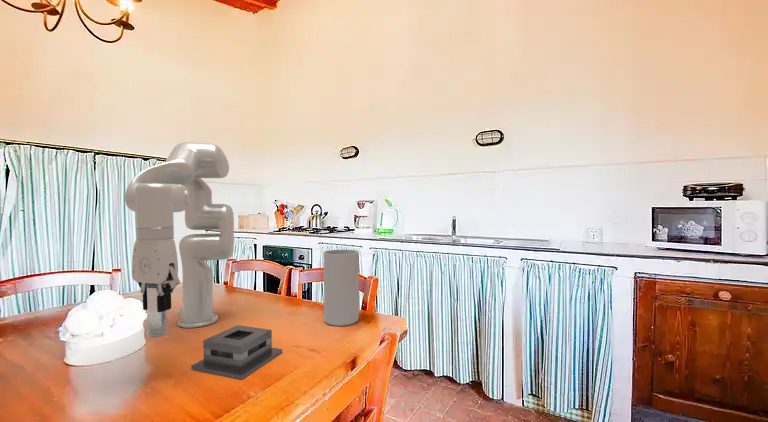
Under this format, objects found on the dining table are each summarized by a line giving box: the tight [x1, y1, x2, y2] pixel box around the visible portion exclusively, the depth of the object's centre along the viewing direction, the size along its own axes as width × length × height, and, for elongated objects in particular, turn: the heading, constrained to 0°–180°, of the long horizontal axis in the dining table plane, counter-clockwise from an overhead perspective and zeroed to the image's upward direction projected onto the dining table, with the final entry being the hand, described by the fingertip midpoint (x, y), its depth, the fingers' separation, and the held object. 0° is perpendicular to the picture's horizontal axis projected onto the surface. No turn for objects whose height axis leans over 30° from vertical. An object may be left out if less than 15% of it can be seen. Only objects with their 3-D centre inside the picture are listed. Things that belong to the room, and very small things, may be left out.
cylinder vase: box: [323, 249, 360, 327], centre depth 125 cm, size 12×12×25 cm
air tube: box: [146, 283, 169, 339], centre depth 84 cm, size 4×4×15 cm
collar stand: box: [190, 324, 283, 380], centre depth 93 cm, size 16×16×7 cm
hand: (157, 308), depth 84 cm, fingers closed on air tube, 4 cm apart
